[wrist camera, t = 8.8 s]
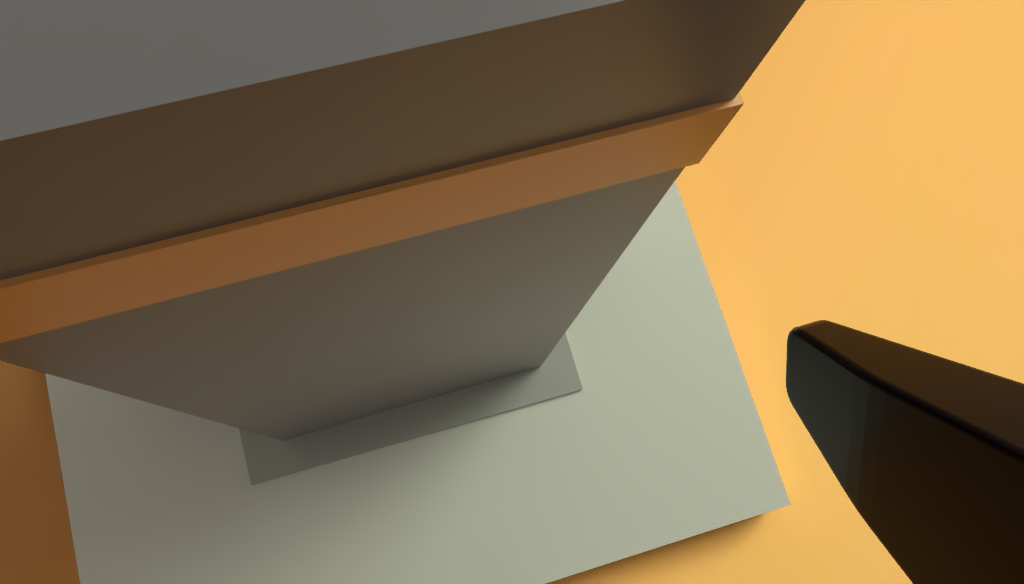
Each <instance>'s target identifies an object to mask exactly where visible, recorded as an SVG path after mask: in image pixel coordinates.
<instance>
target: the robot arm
mask: <svg viewBox="0 0 1024 584" xmlns="http://www.w3.org/2000/svg"><path fill="white" fill-rule="evenodd" d="M786 388H787V393H788V396H789V399H790V401H791V403H792V405H793V407H794V409H795V410H796V412H797V414H798V415H799V417H800V418H801V420H802V422H803V423H804V425H805V427H806V428H807V430H808V432H809V433H810V435H811V437H812V438H813V440H814V441H815V443H816V445H817V446H818V448H819V450H820V451H821V453H822V455H823V456H824V458H825V460H826V461H827V463H828V464H829V466H830V468H831V469H832V471H833V473H834V474H835V476H836V478H837V479H838V481H839V483H840V484H841V486H842V487H843V489H844V491H845V492H846V494H847V495H848V497H849V498H850V500H851V502H852V503H853V505H854V506H855V508H856V509H857V511H858V512H859V513H860V515H861V516H862V517H863V519H864V520H865V522H866V523H867V524H868V526H869V527H870V528H871V530H872V531H873V532H874V533H875V535H876V536H877V537H878V539H879V540H880V541H881V543H882V544H883V545H884V546H885V548H886V549H887V550H888V552H889V553H890V554H891V556H892V557H893V558H894V559H895V561H896V562H897V563H898V565H899V566H900V567H901V569H902V570H903V571H904V572H905V574H906V575H907V576H908V578H909V579H910V580H911V582H912V583H913V584H1024V384H1023V383H1020V382H1016V381H1013V380H1010V379H1007V378H1004V377H1001V376H998V375H995V374H992V373H989V372H985V371H982V370H979V369H976V368H973V367H970V366H967V365H964V364H961V363H957V362H954V361H951V360H948V359H945V358H942V357H939V356H936V355H933V354H930V353H926V352H923V351H920V350H917V349H914V348H911V347H908V346H905V345H902V344H899V343H895V342H892V341H889V340H886V339H883V338H880V337H877V336H874V335H871V334H867V333H864V332H861V331H858V330H855V329H852V328H849V327H846V326H843V325H840V324H836V323H833V322H830V321H826V320H820V321H816V322H812V323H809V324H805V325H802V326H798V327H795V328H794V329H792V330H791V331H790V333H789V335H788V339H787V363H786Z"/></svg>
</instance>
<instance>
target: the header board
mask: <svg viewBox="0 0 1024 584" xmlns="http://www.w3.org/2000/svg"><path fill="white" fill-rule="evenodd" d="M45 375H46V381H47V387H48V393H49V399H50V405H51V411H52V417H53V423H54V429H55V435H56V442H57V448H58V454H59V460H60V466H61V472H62V478H63V484H64V490H65V496H66V502H67V508H68V514H69V520H70V526H71V532H72V538H73V544H74V550H75V556H76V562H77V568H78V574H79V580H80V584H546V583H549V582H552V581H555V580H558V579H562V578H565V577H568V576H571V575H574V574H577V573H580V572H583V571H586V570H590V569H593V568H596V567H599V566H602V565H605V564H608V563H611V562H614V561H617V560H621V559H624V558H627V557H630V556H633V555H636V554H639V553H642V552H645V551H648V550H652V549H655V548H658V547H661V546H664V545H667V544H670V543H673V542H676V541H680V540H683V539H686V538H689V537H692V536H695V535H698V534H701V533H704V532H707V531H711V530H714V529H717V528H720V527H723V526H726V525H729V524H732V523H735V522H738V521H742V520H745V519H748V518H751V517H754V516H757V515H760V514H763V513H766V512H770V511H773V510H776V509H779V508H782V507H785V506H788V505H790V502H789V499H788V496H787V493H786V491H785V488H784V485H783V482H782V479H781V477H780V474H779V471H778V468H777V465H776V463H775V460H774V457H773V454H772V451H771V449H770V446H769V443H768V440H767V437H766V435H765V432H764V429H763V426H762V423H761V421H760V418H759V415H758V412H757V409H756V407H755V404H754V401H753V398H752V395H751V393H750V390H749V387H748V384H747V381H746V379H745V376H744V373H743V370H742V367H741V365H740V362H739V359H738V356H737V353H736V351H735V348H734V345H733V342H732V339H731V337H730V334H729V331H728V328H727V325H726V323H725V320H724V317H723V314H722V311H721V309H720V306H719V303H718V300H717V297H716V295H715V292H714V289H713V286H712V283H711V281H710V278H709V275H708V272H707V269H706V267H705V264H704V261H703V258H702V255H701V253H700V250H699V247H698V244H697V241H696V239H695V236H694V233H693V230H692V227H691V225H690V222H689V219H688V216H687V213H686V211H685V208H684V205H683V202H682V199H681V197H680V194H679V191H678V188H677V185H676V183H675V181H674V183H673V184H672V186H671V187H670V188H669V190H668V191H667V192H666V194H665V195H664V197H663V198H662V199H661V201H660V202H659V204H658V205H657V206H656V208H655V209H654V210H653V212H652V213H651V215H650V216H649V217H648V219H647V220H646V222H645V223H644V224H643V226H642V227H641V228H640V230H639V231H638V233H637V234H636V235H635V237H634V238H633V240H632V241H631V242H630V244H629V245H628V246H627V248H626V249H625V251H624V252H623V253H622V255H621V256H620V257H619V259H618V260H617V262H616V263H615V264H614V266H613V267H612V269H611V270H610V271H609V273H608V274H607V275H606V277H605V278H604V280H603V281H602V282H601V284H600V285H599V287H598V288H597V289H596V291H595V292H594V293H593V295H592V296H591V298H590V299H589V300H588V302H587V303H586V305H585V306H584V307H583V309H582V310H581V311H580V313H579V314H578V316H577V317H576V318H575V320H574V321H573V323H572V324H571V325H570V327H569V328H568V329H567V331H566V332H565V334H564V335H563V336H562V338H561V339H560V341H559V342H558V343H557V345H556V346H555V347H554V349H553V350H552V352H551V353H550V354H549V356H548V357H547V359H546V360H545V361H544V363H543V364H542V365H541V367H537V368H534V369H530V370H527V371H524V372H520V373H517V374H513V375H510V376H506V377H503V378H499V379H496V380H492V381H489V382H485V383H482V384H478V385H475V386H471V387H468V388H464V389H461V390H457V391H454V392H450V393H447V394H443V395H440V396H436V397H433V398H429V399H426V400H422V401H419V402H415V403H412V404H408V405H405V406H401V407H398V408H394V409H391V410H388V411H384V412H381V413H377V414H374V415H370V416H367V417H363V418H360V419H356V420H353V421H349V422H346V423H342V424H339V425H335V426H332V427H328V428H325V429H321V430H318V431H314V432H311V433H307V434H304V435H300V436H297V437H293V438H290V439H286V440H283V441H282V440H278V439H275V438H271V437H268V436H264V435H261V434H257V433H254V432H250V431H246V430H243V429H239V428H236V427H232V426H229V425H225V424H222V423H218V422H215V421H211V420H208V419H204V418H201V417H197V416H194V415H190V414H187V413H183V412H180V411H176V410H173V409H169V408H166V407H162V406H159V405H155V404H152V403H148V402H145V401H141V400H138V399H134V398H130V397H127V396H123V395H120V394H116V393H113V392H109V391H106V390H102V389H99V388H95V387H92V386H88V385H85V384H81V383H78V382H74V381H71V380H67V379H64V378H60V377H57V376H53V375H50V374H46V373H45Z"/></svg>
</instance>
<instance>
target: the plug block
mask: <svg viewBox="0 0 1024 584" xmlns="http://www.w3.org/2000/svg"><path fill="white" fill-rule="evenodd" d="M804 1H805V0H0V361H4V362H7V363H11V364H14V365H18V366H21V367H25V368H29V369H32V370H36V371H39V372H43V373H46V374H50V375H53V376H57V377H60V378H64V379H67V380H71V381H74V382H78V383H81V384H85V385H88V386H92V387H95V388H99V389H102V390H106V391H109V392H113V393H116V394H120V395H123V396H127V397H130V398H134V399H138V400H141V401H145V402H148V403H152V404H155V405H159V406H162V407H166V408H169V409H173V410H176V411H180V412H183V413H187V414H190V415H194V416H197V417H201V418H204V419H208V420H211V421H215V422H218V423H222V424H225V425H229V426H232V427H236V428H239V429H243V430H246V431H250V432H254V433H257V434H261V435H264V436H268V437H271V438H275V439H278V440H282V441H283V440H286V439H290V438H293V437H297V436H300V435H304V434H307V433H311V432H314V431H318V430H321V429H325V428H328V427H332V426H335V425H339V424H342V423H346V422H349V421H353V420H356V419H360V418H363V417H367V416H370V415H374V414H377V413H381V412H384V411H388V410H391V409H394V408H398V407H401V406H405V405H408V404H412V403H415V402H419V401H422V400H426V399H429V398H433V397H436V396H440V395H443V394H447V393H450V392H454V391H457V390H461V389H464V388H468V387H471V386H475V385H478V384H482V383H485V382H489V381H492V380H496V379H499V378H503V377H506V376H510V375H513V374H517V373H520V372H524V371H527V370H530V369H534V368H537V367H541V365H542V364H543V363H544V361H545V360H546V359H547V357H548V356H549V354H550V353H551V352H552V350H553V349H554V347H555V346H556V345H557V343H558V342H559V341H560V339H561V338H562V336H563V335H564V334H565V332H566V331H567V329H568V328H569V327H570V325H571V324H572V323H573V321H574V320H575V318H576V317H577V316H578V314H579V313H580V311H581V310H582V309H583V307H584V306H585V305H586V303H587V302H588V300H589V299H590V298H591V296H592V295H593V293H594V292H595V291H596V289H597V288H598V287H599V285H600V284H601V282H602V281H603V280H604V278H605V277H606V275H607V274H608V273H609V271H610V270H611V269H612V267H613V266H614V264H615V263H616V262H617V260H618V259H619V257H620V256H621V255H622V253H623V252H624V251H625V249H626V248H627V246H628V245H629V244H630V242H631V241H632V240H633V238H634V237H635V235H636V234H637V233H638V231H639V230H640V228H641V227H642V226H643V224H644V223H645V222H646V220H647V219H648V217H649V216H650V215H651V213H652V212H653V210H654V209H655V208H656V206H657V205H658V204H659V202H660V201H661V199H662V198H663V197H664V195H665V194H666V192H667V191H668V190H669V188H670V187H671V186H672V184H673V183H674V181H675V180H676V179H677V177H678V176H679V174H680V173H681V172H682V170H683V169H684V168H685V167H686V166H690V165H694V164H697V163H699V162H700V161H701V159H702V158H703V157H704V156H705V154H706V153H707V152H708V150H709V149H710V148H711V146H712V145H713V144H714V142H715V141H716V140H717V138H718V137H719V136H720V134H721V133H722V132H723V130H724V129H725V128H726V126H727V125H728V124H729V122H730V121H731V120H732V119H733V117H734V116H735V115H736V113H737V112H738V111H739V109H740V108H741V107H742V105H743V104H744V103H743V101H742V98H741V96H740V93H739V91H740V90H741V89H742V87H743V86H744V84H745V83H746V82H747V80H748V79H749V78H750V76H751V75H752V73H753V72H754V71H755V69H756V68H757V66H758V65H759V64H760V62H761V61H762V60H763V58H764V57H765V55H766V54H767V53H768V51H769V50H770V49H771V47H772V46H773V44H774V43H775V42H776V40H777V39H778V37H779V36H780V35H781V33H782V32H783V31H784V29H785V28H786V26H787V25H788V24H789V22H790V21H791V19H792V18H793V17H794V15H795V14H796V13H797V11H798V10H799V8H800V7H801V6H802V4H803V3H804Z"/></svg>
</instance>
